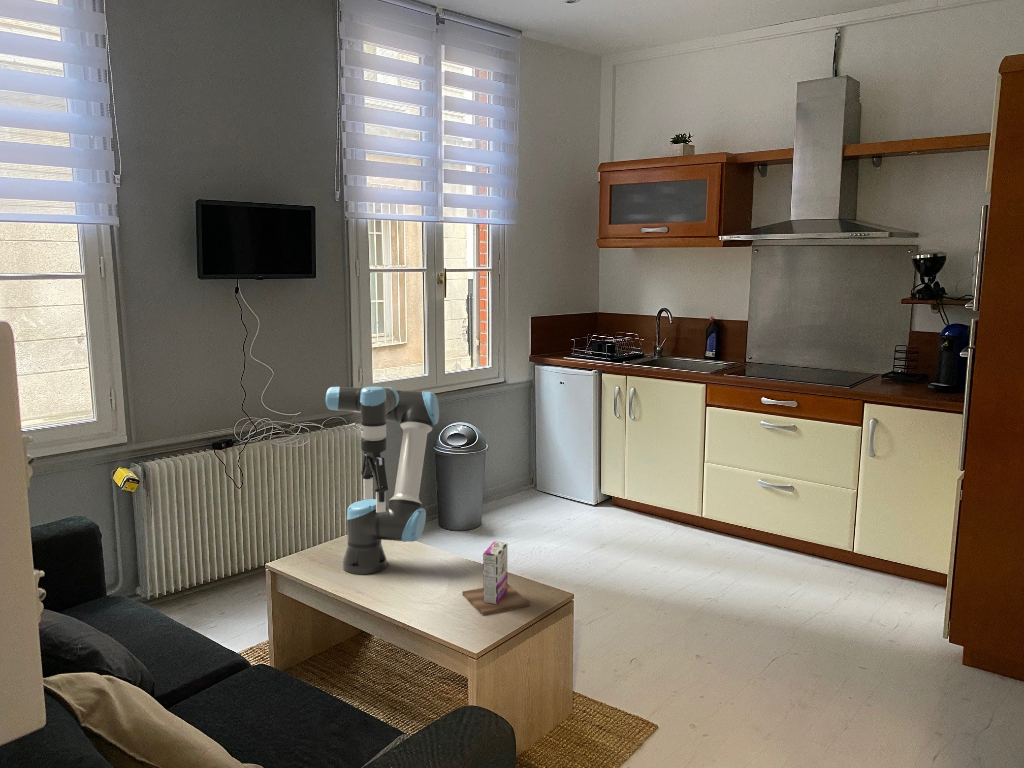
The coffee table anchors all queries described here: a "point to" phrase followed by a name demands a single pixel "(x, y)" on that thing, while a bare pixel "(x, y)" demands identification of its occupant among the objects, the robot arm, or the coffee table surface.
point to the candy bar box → (495, 572)
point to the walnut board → (506, 603)
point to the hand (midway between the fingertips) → (374, 505)
